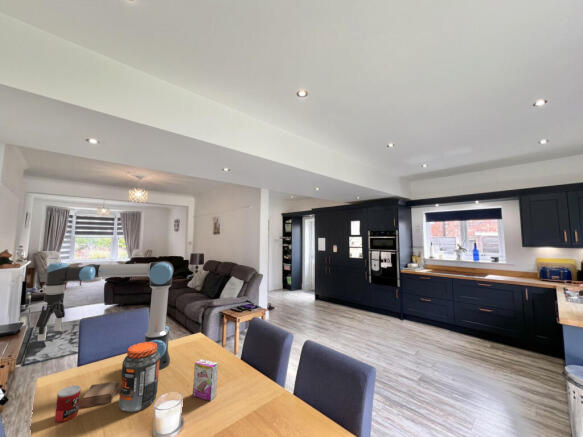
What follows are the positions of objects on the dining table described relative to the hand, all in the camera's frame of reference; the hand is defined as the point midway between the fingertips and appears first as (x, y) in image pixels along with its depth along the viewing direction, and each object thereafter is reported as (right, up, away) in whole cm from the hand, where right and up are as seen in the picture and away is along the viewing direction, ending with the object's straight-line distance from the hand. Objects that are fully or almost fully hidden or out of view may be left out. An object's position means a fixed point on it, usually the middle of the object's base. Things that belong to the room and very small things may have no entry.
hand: (49, 335), depth 126 cm
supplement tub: (+50, -29, -8) cm, 59 cm away
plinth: (+30, -28, -5) cm, 41 cm away
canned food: (+26, -27, -18) cm, 42 cm away
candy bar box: (+80, -30, -2) cm, 86 cm away
